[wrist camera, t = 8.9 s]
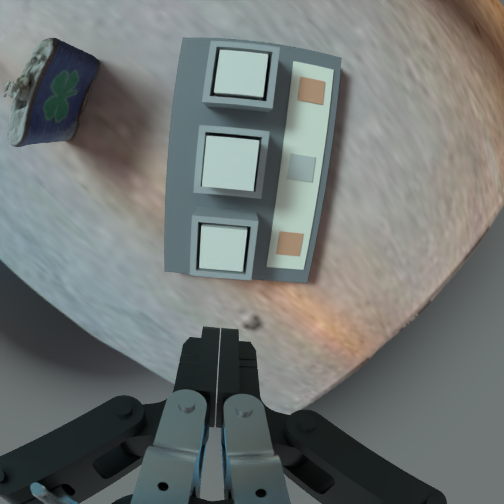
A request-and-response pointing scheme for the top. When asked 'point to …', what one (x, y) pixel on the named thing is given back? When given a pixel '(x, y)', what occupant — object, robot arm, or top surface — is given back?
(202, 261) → the button
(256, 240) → the board
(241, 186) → the button middle
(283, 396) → the top surface
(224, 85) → the button
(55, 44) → the flask
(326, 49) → the top surface
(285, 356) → the top surface
